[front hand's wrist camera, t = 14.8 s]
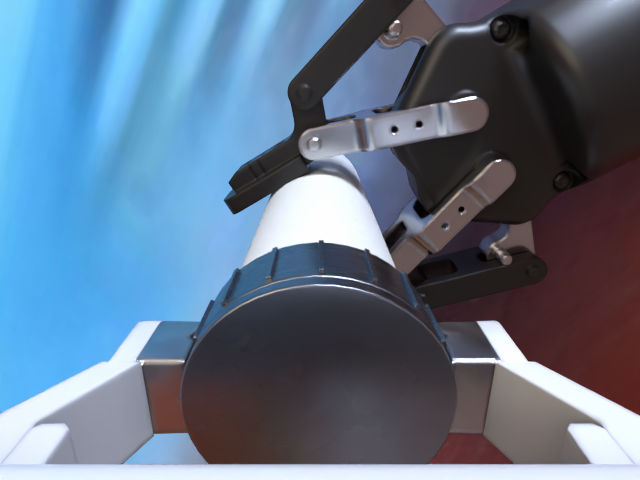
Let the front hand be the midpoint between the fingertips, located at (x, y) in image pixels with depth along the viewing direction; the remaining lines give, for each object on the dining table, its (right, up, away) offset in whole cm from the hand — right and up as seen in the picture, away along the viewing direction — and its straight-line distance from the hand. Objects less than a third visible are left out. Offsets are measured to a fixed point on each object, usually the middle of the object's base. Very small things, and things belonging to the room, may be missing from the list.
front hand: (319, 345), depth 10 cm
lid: (0, -1, -2) cm, 2 cm away
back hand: (-2, +2, +9) cm, 9 cm away
